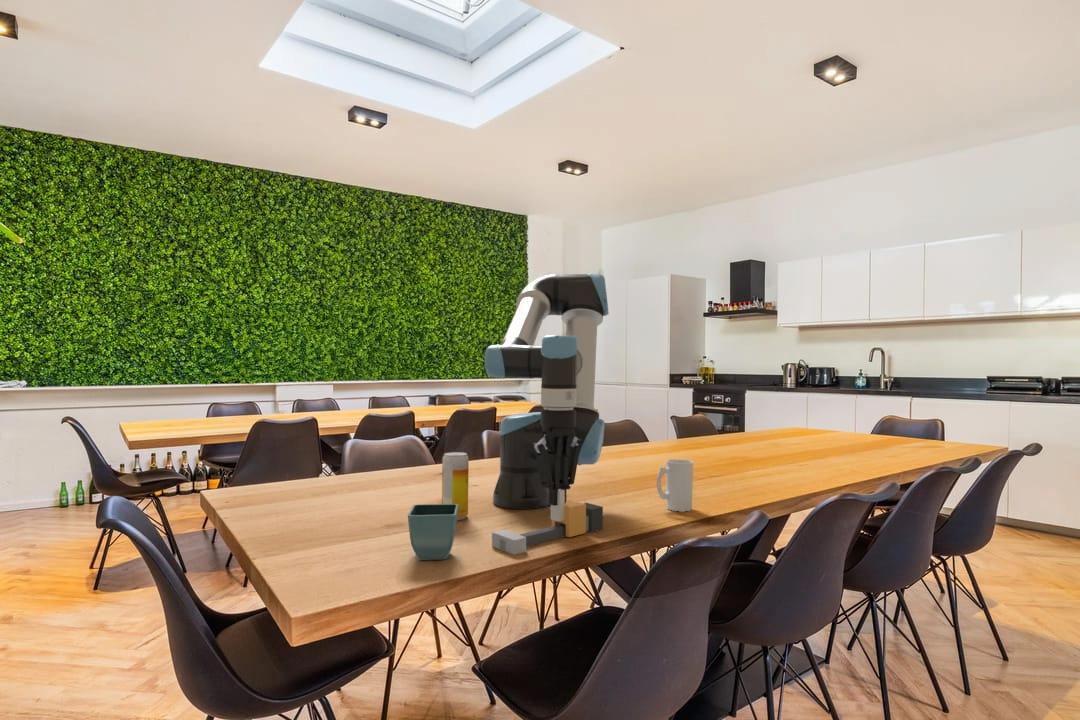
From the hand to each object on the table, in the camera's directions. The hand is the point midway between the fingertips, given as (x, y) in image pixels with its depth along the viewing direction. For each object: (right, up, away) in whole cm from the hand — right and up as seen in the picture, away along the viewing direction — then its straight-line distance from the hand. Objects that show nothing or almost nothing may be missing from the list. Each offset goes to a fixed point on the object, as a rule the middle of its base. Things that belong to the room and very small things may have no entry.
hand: (557, 519), depth 130 cm
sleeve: (+2, -4, +2) cm, 5 cm away
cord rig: (-1, -4, -1) cm, 4 cm away
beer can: (-24, -4, +14) cm, 28 cm away
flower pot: (-24, -4, -14) cm, 28 cm away
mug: (+30, -4, +24) cm, 39 cm away
